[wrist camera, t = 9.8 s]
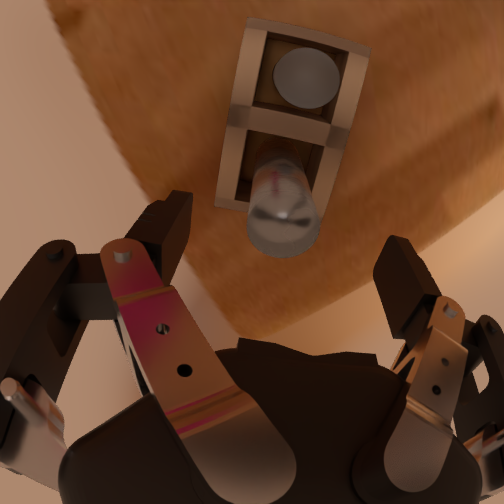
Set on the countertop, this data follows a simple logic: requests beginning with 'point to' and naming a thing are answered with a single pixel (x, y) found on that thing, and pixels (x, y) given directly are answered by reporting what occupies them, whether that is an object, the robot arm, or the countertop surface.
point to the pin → (281, 202)
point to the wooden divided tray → (299, 94)
